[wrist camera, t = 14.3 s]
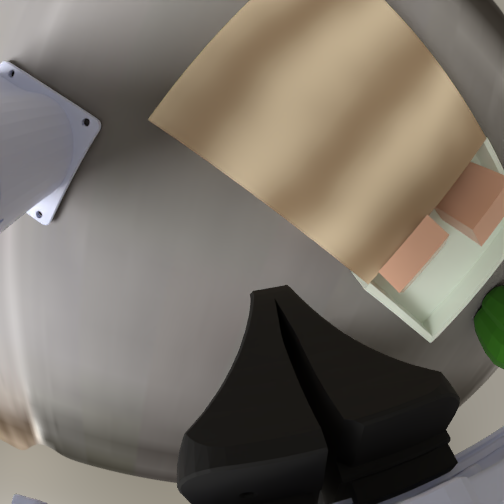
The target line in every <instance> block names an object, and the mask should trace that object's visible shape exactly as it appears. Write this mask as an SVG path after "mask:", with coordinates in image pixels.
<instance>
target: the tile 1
mask: <svg viewBox="0 0 504 504" xmlns="http://www.w3.org/2000/svg"><path fill="white" fill-rule="evenodd" d="M448 237H449V234H448V233H447V232H446V231H445V230H444V229H442V228H441V227H440V226H439V225H438V224H437V223H436V222H435V221H434V220H433V219H432V218H431V217H429V216H428V215H426V217H425V218H424V219H423V220H422V222H421V223H420V224H419V225H418V226H417V228H416V229H415V230H414V231H413V233H412V234H411V235H410V236H409V237H408V238H407V240H406V241H405V242H404V243H403V244H402V245H401V247H400V248H399V249H398V250H397V251H396V252H395V254H394V255H393V256H392V257H391V258H390V259H389V260H388V261H387V263H386V264H385V265H384V266H383V267H382V268H381V269H380V270H379V273H380V274H381V275H382V276H383V277H384V278H385V279H386V280H387V281H388V282H389V283H390V284H391V285H392V286H393V287H394V288H395V289H396V290H397V291H398V292H399V293H402V292H405V290H406V289H407V288H408V287H409V286H410V285H411V284H412V283H413V282H414V281H415V279H416V278H417V277H418V276H419V275H420V274H421V273H422V271H423V270H424V269H425V268H426V267H427V266H428V265H429V263H430V262H431V261H432V260H433V259H434V258H435V256H436V255H437V254H438V253H439V252H440V250H441V249H442V248H443V247H444V245H445V244H446V241H447V239H448Z"/></svg>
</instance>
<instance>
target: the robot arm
mask: <svg viewBox="0 0 504 504" xmlns="http://www.w3.org/2000/svg"><path fill="white" fill-rule="evenodd" d="M13 71H14V76H13V77H12V75H11V74H12V72H13ZM86 118H88V119H89V121H90V123H89V125H88V126H86V125H85V124H84V121H85V119H86ZM100 129H101V122H100V121H99V120H98V119H97V118H96V117H94V116H93V115H91V114H90V113H88V112H87V111H85V110H84V109H82V108H80V107H79V106H77V105H76V104H74V103H73V102H71V101H70V100H68V99H67V98H65V97H64V96H62V95H61V94H59V93H57V92H56V91H54V90H53V89H51V88H50V87H48V86H47V85H45V84H43V83H42V82H40V81H39V80H37V79H36V78H34V77H33V76H31V75H29V74H28V73H26V72H25V71H23V70H21V69H20V68H18V67H17V66H15V65H14V64H12V63H10V62H8V61H3V62H1V63H0V233H1V232H3V231H4V230H5V229H6V228H7V227H9V226H10V225H11V224H12V223H13V222H15V221H16V220H17V219H18V218H20V217H21V216H22V215H23V214H25V213H27V214H29V215H30V216H32V217H33V218H34V219H36V220H37V221H39V222H40V223H42V224H43V225H48V224H50V223H51V221H52V220H53V217H54V215H55V213H56V211H57V209H58V207H59V204H60V202H61V200H62V198H63V196H64V194H65V192H66V190H67V188H68V186H69V184H70V182H71V180H72V178H73V177H74V175H75V173H76V171H77V169H78V167H79V165H80V164H81V162H82V160H83V158H84V156H85V155H86V153H87V151H88V149H89V148H90V146H91V144H92V143H93V141H94V139H95V138H96V136H97V134H98V133H99V131H100ZM38 211H40V212H41V213H42V216H40V215H39V213H38ZM250 297H251V305H250V312H249V318H248V322H247V326H246V330H245V334H244V337H243V340H242V343H241V346H240V349H239V351H238V354H237V356H236V358H235V361H234V363H233V365H232V367H231V369H230V371H229V373H228V375H227V377H226V379H225V380H224V382H223V384H222V386H221V387H220V389H219V391H218V392H217V393H216V395H215V396H214V398H213V399H212V401H211V402H210V404H209V405H208V406H207V408H206V409H205V411H204V412H203V413H202V414H201V416H200V417H199V418H198V419H197V420H196V421H195V423H194V424H193V425H192V426H191V427H190V428H189V429H188V431H187V432H186V433H185V434H184V437H183V440H182V444H181V448H180V452H179V457H178V464H177V488H178V490H179V491H180V493H181V494H182V495H183V496H184V497H185V498H186V499H187V500H188V501H189V502H190V503H191V504H318V499H319V493H320V490H321V494H322V499H323V503H324V504H503V503H504V426H503V427H501V428H500V429H498V430H497V431H495V432H494V433H492V434H491V435H489V436H488V437H486V438H484V439H483V440H481V441H479V442H478V443H476V444H474V445H472V446H471V447H469V448H467V449H465V450H463V451H462V452H460V453H458V454H456V455H454V454H453V452H452V450H451V449H450V447H449V445H448V443H449V442H450V436H449V434H448V433H447V431H446V429H447V427H448V425H449V424H450V422H451V420H452V418H453V417H454V415H455V413H456V411H457V409H458V407H459V403H460V398H459V396H458V395H457V393H456V392H455V390H454V389H453V387H452V386H451V384H450V383H449V381H448V380H447V379H446V378H445V377H444V375H443V374H442V373H441V372H439V371H435V370H431V369H427V368H423V367H419V366H415V365H411V364H408V363H405V362H403V361H400V360H397V359H394V358H391V357H389V356H387V355H384V354H382V353H380V352H377V351H375V350H373V349H371V348H369V347H367V346H365V345H363V344H361V343H359V342H357V341H356V340H354V339H352V338H351V337H349V336H347V335H346V334H344V333H343V332H341V331H340V330H338V329H337V328H336V327H334V326H333V325H332V324H330V323H329V322H328V321H326V320H325V319H324V318H323V317H321V316H320V315H319V314H318V313H317V312H315V311H314V310H313V309H312V308H311V307H310V306H309V305H307V304H306V303H305V302H304V301H303V300H302V299H301V298H300V297H299V296H298V295H297V294H296V293H295V292H294V291H293V290H292V289H291V288H290V287H289V286H288V285H285V286H279V287H274V288H268V289H262V290H257V291H253V292H252V293H251V294H250ZM12 504H47V503H45V502H42V501H40V500H37V499H33V498H29V497H25V496H22V495H18V494H14V495H13V500H12Z"/></svg>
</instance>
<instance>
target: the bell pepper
mask: <svg viewBox="0 0 504 504" xmlns="http://www.w3.org/2000/svg"><path fill="white" fill-rule="evenodd" d="M474 324H475V332H476V334H477V336H478V339H479V341H480V343H481V345H482V347H483V349H484V351H485V353H486V354H487V356H488V357H489V358H490V359H491V361H492V362H493V363H494V364H495V365H497V366H498V367H500V368H502V369H504V286H498V287H495V288H494V289H492V290H491V291H490V292H489V293H488V294H487V295H486V297H485V298H484V300H483V302H482V308H481V309H480V310H479V311H478V312H477V314H476V316H475V318H474Z"/></svg>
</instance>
